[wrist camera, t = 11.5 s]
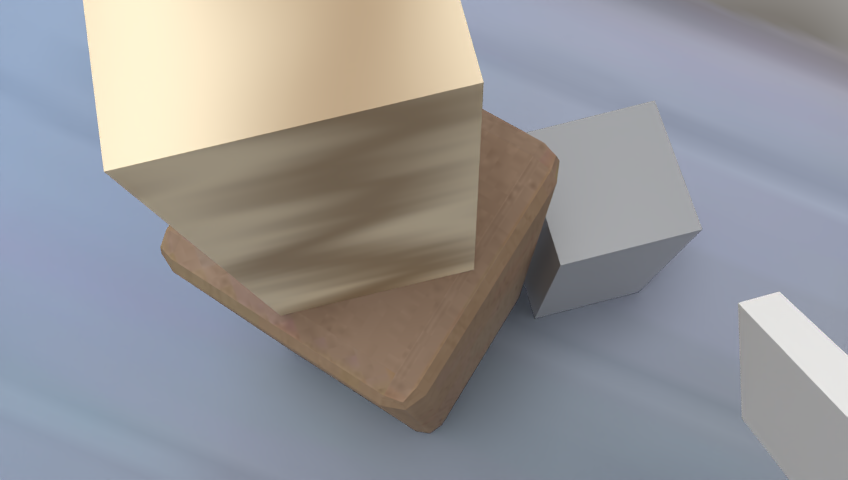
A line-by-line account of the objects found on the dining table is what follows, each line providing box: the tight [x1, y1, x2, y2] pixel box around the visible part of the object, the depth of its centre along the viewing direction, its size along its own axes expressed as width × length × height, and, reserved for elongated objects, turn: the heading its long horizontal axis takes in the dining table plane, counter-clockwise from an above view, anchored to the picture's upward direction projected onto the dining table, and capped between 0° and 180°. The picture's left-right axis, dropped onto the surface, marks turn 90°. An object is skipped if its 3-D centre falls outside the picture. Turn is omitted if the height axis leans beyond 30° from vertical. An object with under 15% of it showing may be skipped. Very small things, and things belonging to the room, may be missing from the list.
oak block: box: [83, 0, 484, 316], centre depth 19 cm, size 6×6×12 cm
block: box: [161, 109, 560, 433], centre depth 34 cm, size 10×10×20 cm
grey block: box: [524, 101, 702, 319], centre depth 38 cm, size 6×6×12 cm
